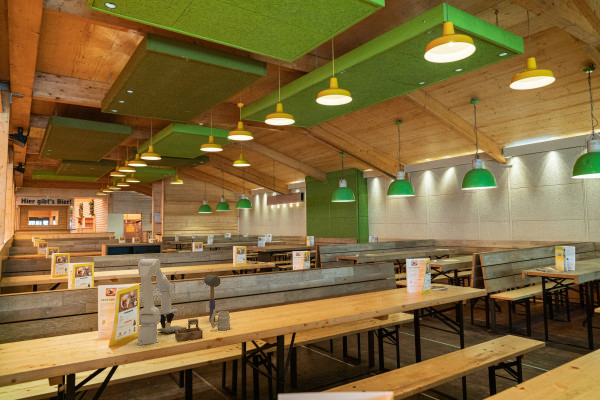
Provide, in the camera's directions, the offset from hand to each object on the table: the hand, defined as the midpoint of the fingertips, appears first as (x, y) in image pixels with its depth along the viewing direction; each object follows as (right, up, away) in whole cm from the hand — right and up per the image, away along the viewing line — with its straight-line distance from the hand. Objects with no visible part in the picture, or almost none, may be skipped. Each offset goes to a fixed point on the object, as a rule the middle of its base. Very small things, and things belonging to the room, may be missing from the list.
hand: (165, 327), depth 223 cm
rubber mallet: (+21, -5, +25) cm, 33 cm away
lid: (+3, -2, +3) cm, 4 cm away
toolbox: (+16, -2, -9) cm, 18 cm away
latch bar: (+15, +2, +1) cm, 15 cm away
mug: (+31, -3, +5) cm, 31 cm away
